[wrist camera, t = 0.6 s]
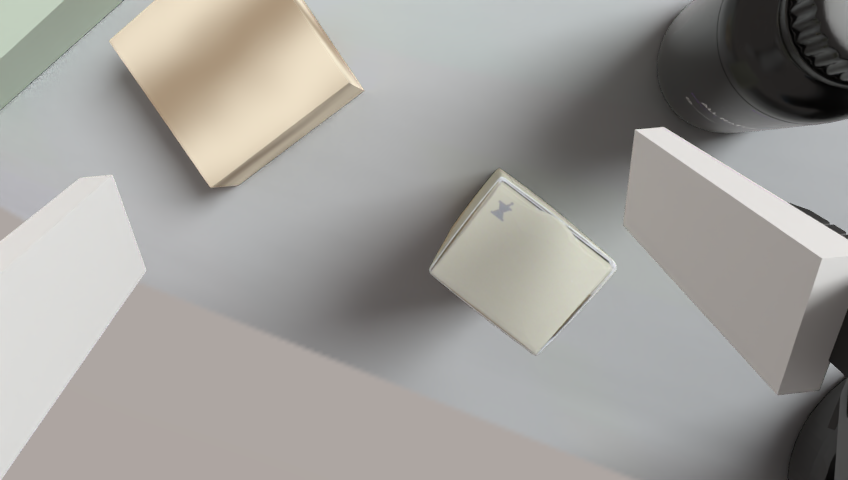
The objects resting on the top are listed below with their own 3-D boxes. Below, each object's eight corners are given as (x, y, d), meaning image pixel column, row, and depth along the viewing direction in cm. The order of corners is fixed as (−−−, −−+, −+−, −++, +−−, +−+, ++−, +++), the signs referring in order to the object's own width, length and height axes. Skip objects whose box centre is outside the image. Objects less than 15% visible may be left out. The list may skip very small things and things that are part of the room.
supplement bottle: (667, 149, 28) (788, 140, 16) (642, 12, 27) (749, -104, 15) (815, 115, 26) (1064, 79, 15) (793, -29, 26) (1036, -189, 14)
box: (449, 228, 30) (417, 266, 19) (499, 164, 29) (496, 167, 18) (525, 288, 30) (537, 362, 19) (578, 226, 29) (623, 266, 18)
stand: (364, 90, 29) (348, 82, 26) (238, 185, 31) (210, 187, 28) (268, -52, 29) (241, -76, 26) (146, 52, 31) (108, 40, 28)
